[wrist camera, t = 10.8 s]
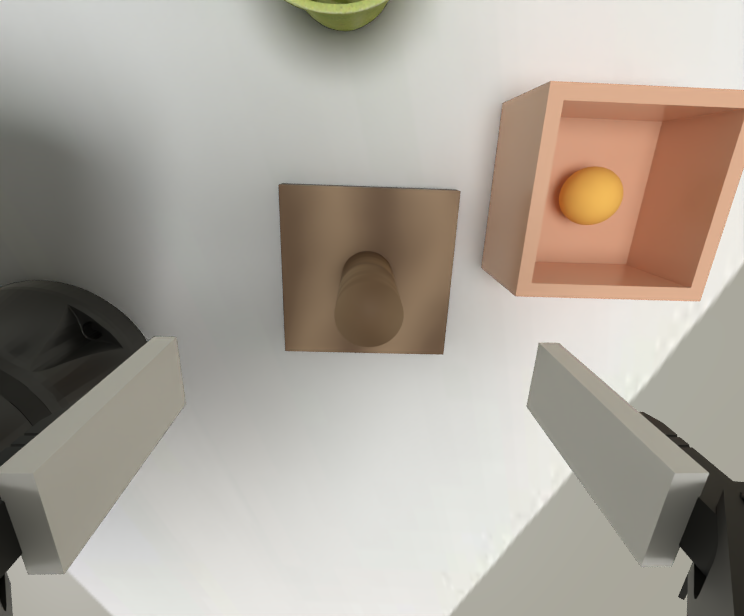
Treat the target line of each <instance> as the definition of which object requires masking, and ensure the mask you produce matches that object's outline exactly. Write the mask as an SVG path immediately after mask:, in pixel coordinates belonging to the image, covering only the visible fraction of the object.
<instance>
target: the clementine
mask: <svg viewBox="0 0 744 616" xmlns="http://www.w3.org/2000/svg"><path fill="white" fill-rule="evenodd" d="M622 199H623V185H622V182H621V180H620V178H619V177H618V176H617V175H616V174H615V173H614V172H613V171H611V170H609V169H607V168H604V167H597V166H594V167H587V168H583V169H581V170H579V171H577V172H575V173H574V174H572V175H571V176H570V177H569V178H568V179H567V180H566V181H565V183H564V184H563V186H562V188H561V191H560V194H559V205H560V208H561V211H562V212H563V214H564V215H565V216H566V217H567V218H568V219H569V220H570V221H572V222H574V223H577V224H580V225H594V224H598V223H601V222H603V221H605V220H607V219H608V218H610V217H611V216H612V215H613V214H614V213H615V212H616V211H617V210H618V208H619V206H620V204H621V202H622Z"/></svg>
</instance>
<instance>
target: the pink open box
mask: <svg viewBox="0 0 744 616" xmlns="http://www.w3.org/2000/svg"><path fill="white" fill-rule="evenodd" d="M594 166H597V167H604V168H607V169H609V170H611V171H613V172H614V173H615V174H616V175H617V176H618V177H619V178H620V180H621V182H622V185H623V199H622V202H621V204H620V206H619V208H618V210H617V211H616V212H615V213H614V214H613V215H612V216H611V217H610V218H608V219H607V220H605V221H603V222H601V223H598V224H594V225H580V224H577V223H574V222H572V221H570V220H569V219H568V218H567V217H566V216H565V215H564V214H563V212H562V211H561V208H560V205H559V194H560V191H561V188H562V186H563V184H564V183H565V181H566V180H567V179H568V178H569V177H570V176H571V175H572V174H574V173H575V172H577V171H579V170H581V169H583V168H587V167H594ZM743 168H744V90H733V89H711V88H689V87H667V86H646V85H624V84H602V83H580V82H559V81H550V82H548V83H546V84H543V85H541V86H539V87H537V88H535V89H533V90H530V91H528V92H526V93H524V94H522V95H520V96H518V97H515V98H513V99H511V100H509V101H507V102H505V103H503V105H502V113H501V120H500V128H499V136H498V143H497V151H496V159H495V166H494V174H493V182H492V189H491V197H490V205H489V213H488V220H487V228H486V236H485V243H484V251H483V259H482V266H481V268H482V269H483V270H485V271H486V272H487V273H488V274H489V275H491V276H492V277H493V278H494V279H495V280H497V281H498V282H499V283H500V284H501V285H503V286H504V287H505V288H506V289H507V290H509V291H510V292H511V293H512V294H513V295H515V296H524V297H560V298H597V299H633V300H670V301H700V300H701V297H702V294H703V291H704V288H705V285H706V282H707V279H708V275H709V272H710V269H711V266H712V263H713V260H714V257H715V254H716V251H717V248H718V245H719V242H720V239H721V236H722V233H723V230H724V227H725V223H726V220H727V217H728V214H729V211H730V208H731V205H732V202H733V199H734V196H735V193H736V190H737V187H738V184H739V181H740V178H741V175H742V171H743Z"/></svg>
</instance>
